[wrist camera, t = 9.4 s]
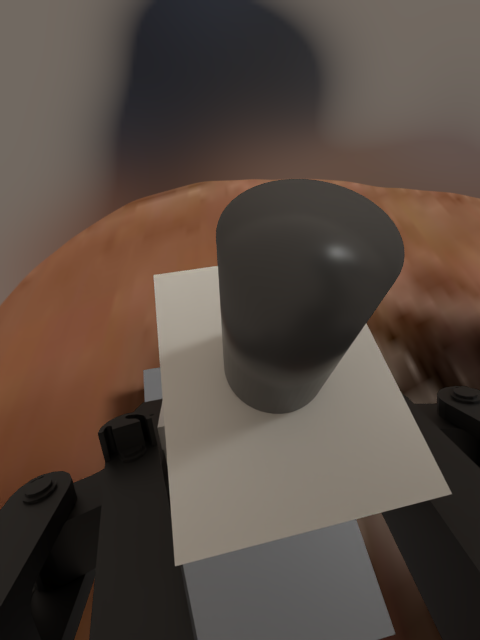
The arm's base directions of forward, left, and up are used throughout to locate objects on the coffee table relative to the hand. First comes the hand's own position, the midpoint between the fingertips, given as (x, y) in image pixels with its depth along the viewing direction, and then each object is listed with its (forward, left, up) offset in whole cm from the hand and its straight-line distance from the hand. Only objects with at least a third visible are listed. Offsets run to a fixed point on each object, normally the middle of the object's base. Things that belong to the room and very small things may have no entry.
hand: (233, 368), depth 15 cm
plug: (+2, +3, -3) cm, 5 cm away
